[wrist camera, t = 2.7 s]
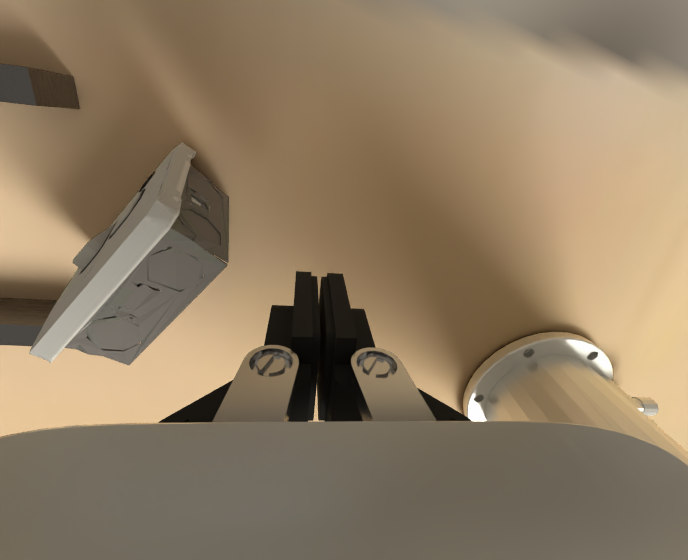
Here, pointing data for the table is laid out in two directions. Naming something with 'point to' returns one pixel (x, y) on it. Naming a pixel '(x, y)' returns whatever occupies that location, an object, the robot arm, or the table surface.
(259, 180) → the table surface
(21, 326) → the rail mount
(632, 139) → the table surface
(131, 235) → the electrical switch
